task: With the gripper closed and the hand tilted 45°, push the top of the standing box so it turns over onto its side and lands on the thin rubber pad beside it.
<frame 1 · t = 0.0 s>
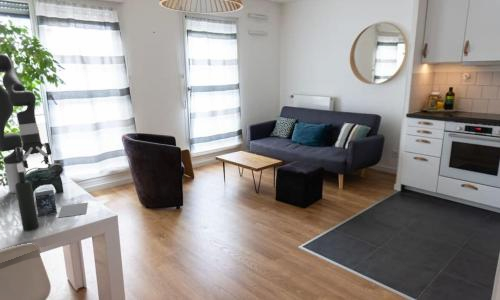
hand: (36, 166, 161), 22 cm above the table, tool pointing down, fingers open, 8 cm apart
box: (47, 213, 162), on the table
mat: (73, 209, 165), on the table
wine bottle: (31, 228, 147), on the table
ceramic cat: (46, 195, 182), on the table
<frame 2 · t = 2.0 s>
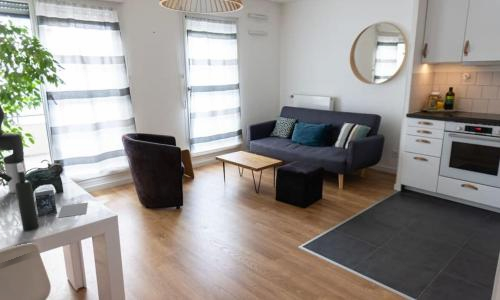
hand: (10, 179, 152), 19 cm above the table, tool tilted 45°, fingers closed
nothing on the table moved.
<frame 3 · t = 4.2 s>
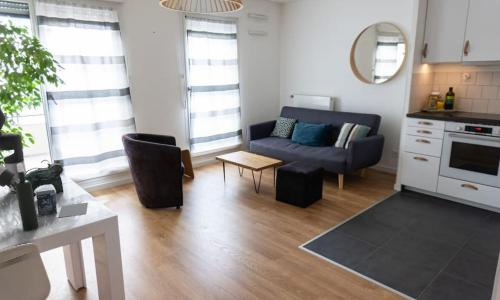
hand: (34, 196, 158), 9 cm above the table, tool tilted 45°, fingers closed
box: (47, 212, 162), on the table, touching gripper
everything else where it was.
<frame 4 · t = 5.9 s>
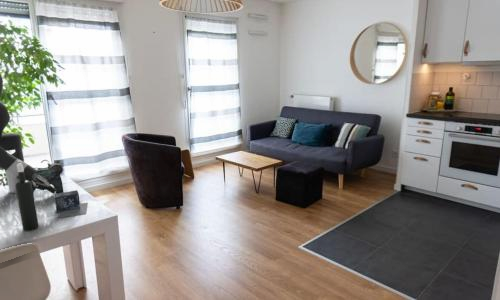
hand: (55, 191, 161), 10 cm above the table, tool tilted 45°, fingers closed
box: (54, 203, 163), point 4 cm above the table, touching mat
everything else where it was.
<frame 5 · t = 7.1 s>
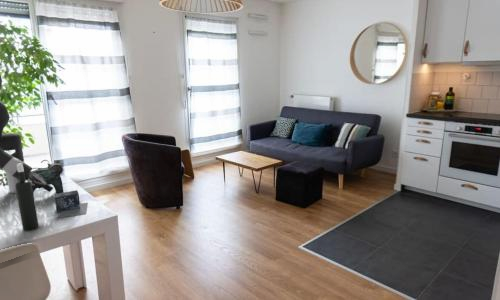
hand: (51, 189, 160), 11 cm above the table, tool tilted 45°, fingers closed
nothing on the table moved.
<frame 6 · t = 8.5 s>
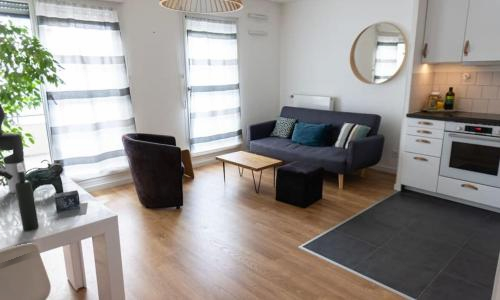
hand: (11, 177, 152), 20 cm above the table, tool tilted 45°, fingers closed
nothing on the table moved.
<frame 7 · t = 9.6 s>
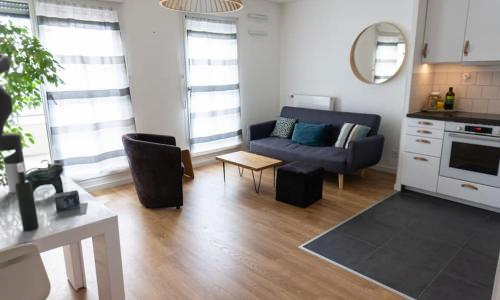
nothing on the table moved.
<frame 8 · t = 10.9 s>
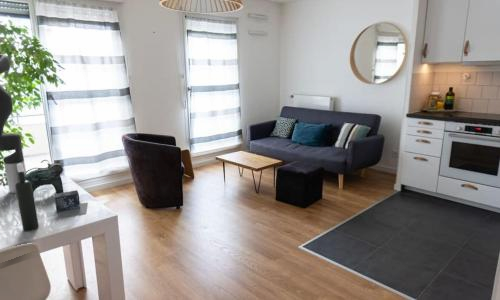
nothing on the table moved.
at the end: box tilted 90°; box touching mat; box inside the target area (4.6 cm from its centre), point 4.1 cm above the table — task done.
